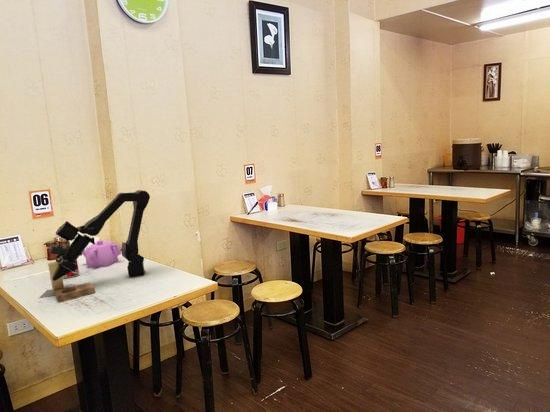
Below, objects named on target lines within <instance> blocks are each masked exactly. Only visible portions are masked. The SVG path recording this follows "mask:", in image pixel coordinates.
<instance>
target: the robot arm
mask: <svg viewBox="0 0 550 412" xmlns="http://www.w3.org/2000/svg"><path fill="white" fill-rule="evenodd" d="M150 198H151V196H150V194H149V192H148V191H146V190H141V189H137V190H136V191H134V192H133V191H132V192H118V193H117V195H116V196H115V197H114V198H113V199H112V201H110V202H109V203H108V204H107V205H106V206H105V207H104V209H102V211H100V213H99V214H97V215H96V216H94V217H92V218H91V219H89V220H88V221H86V222H85V223H84V224H83V225H81V226H77V227H76V226H74V225H73V224H71V222H69V221H67V220H66V221H65V222H64V223H63V224H62V225H61V226H59V227H58V229H57V230H56V231H55V235H57V236H58V237H60V238H62V239H63V240H65V241H66V242H69V241H71V243H70V244H68V245H66V246H62V245H58V244H57V245H55V244H51V245H50V248H49V254H51V255H55V256H54V257H55V262H58V261H59V263H58V265H59V269H58V270H57V272H56V274H55V276H54V278H53V280H54V281H56V280H57V279H59V278H61V277H62V278H64V277H63V276H64V275H66V274H68V273H70V272H72V271H73V272H75V270H76V269H77V265H76V264H75V263H76V260H77V261H78V259H79V257H80V256H83V254H82V252H83V251H84V249H85V250H86V248H87V247H88V246H89V244H90V243H91V245H92V244H95V243H96V241H95V238H94V237H95V236H98V235H99V233H100V232H101V231H102V229H103V228H104V226H105V224H106V222H107V221H108V220H109V218H111V217H112V216H113V215H114V213H115V212H116V211H118V210H119V209H120V207H121V206H122V205H123V204H124V203H126V202H132V206H133V212H132V217H131V220H130V226H129V230H128V236H127V240H126V241H125V242H123V241H122V242H121V248H120V251H121V256H122V257H123V258H124V259H125V260H127V261H128V263H127V273H128V276H129V278H133V277H142V276H145V273H146V270H145V265H144V264H145V263H144V262H145V257H144V256H142V255H141V254H139V243H138V242H139V241H138V240H139V235H140V232H141V226H142V221H143V217H144V216H143V215H144V211H145V210H146V208H147V206H148V204H149V201H150ZM80 233H81V234H80ZM82 234H83V235H82ZM91 236H92V237H91Z"/></svg>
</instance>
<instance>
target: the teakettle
mask: <svg viewBox="0 0 550 412" xmlns="http://www.w3.org/2000/svg"><path fill="white" fill-rule="evenodd" d="M120 250H121V247H120V243H115V242H114V240H113V241H111V240H110V241H104V240H102V239H100V240H97V241H95V244H92V243H91V244H90V245H87V247H86V248H85V249H84V251H83V252H82V256H83V257H85V265H86V267H87V268H88V269H93V268H94V269H95V268H96V269H97V268H102V267H103V268H104V267H109V266H112V265H113V264H114V263H116V262H117V261H118V259H119V258H118V257H119V256H120V255H122V252H121V251H120Z"/></svg>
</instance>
